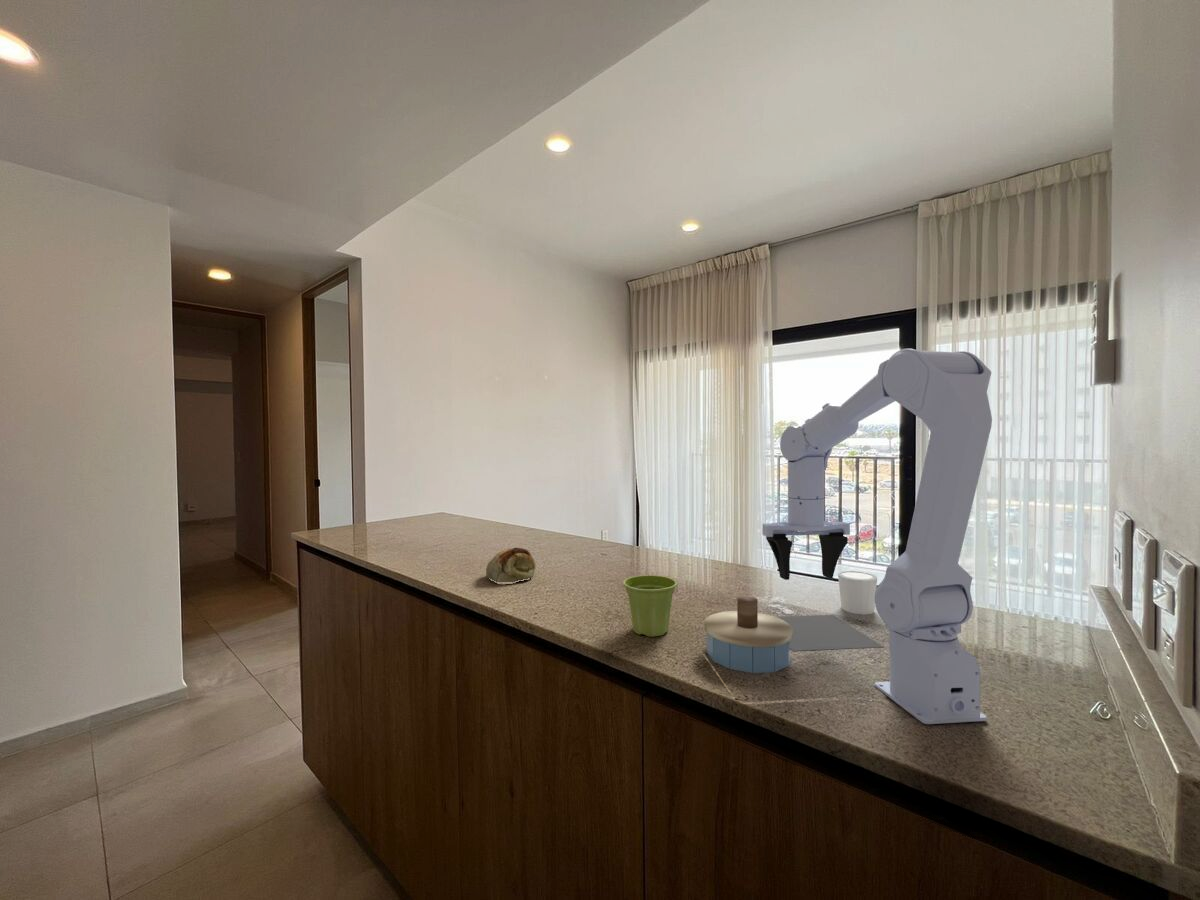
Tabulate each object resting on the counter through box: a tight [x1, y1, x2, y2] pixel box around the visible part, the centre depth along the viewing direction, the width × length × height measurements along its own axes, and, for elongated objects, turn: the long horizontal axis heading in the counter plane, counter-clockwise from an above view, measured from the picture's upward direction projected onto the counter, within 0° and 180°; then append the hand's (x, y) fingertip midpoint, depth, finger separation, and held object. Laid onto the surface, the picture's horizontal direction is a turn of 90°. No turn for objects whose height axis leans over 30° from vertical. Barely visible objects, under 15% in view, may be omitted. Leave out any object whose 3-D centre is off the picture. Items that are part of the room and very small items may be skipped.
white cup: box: [837, 570, 878, 615], centre depth 97 cm, size 7×7×7 cm
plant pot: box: [622, 574, 678, 638], centre depth 88 cm, size 9×9×9 cm
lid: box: [704, 595, 793, 647], centre depth 77 cm, size 13×13×5 cm
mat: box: [776, 614, 885, 652], centre depth 86 cm, size 15×15×1 cm
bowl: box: [706, 632, 791, 674], centre depth 77 cm, size 12×12×4 cm
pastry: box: [485, 547, 537, 582], centre depth 124 cm, size 14×12×8 cm
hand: (806, 577), depth 85 cm, fingers open, 7 cm apart
